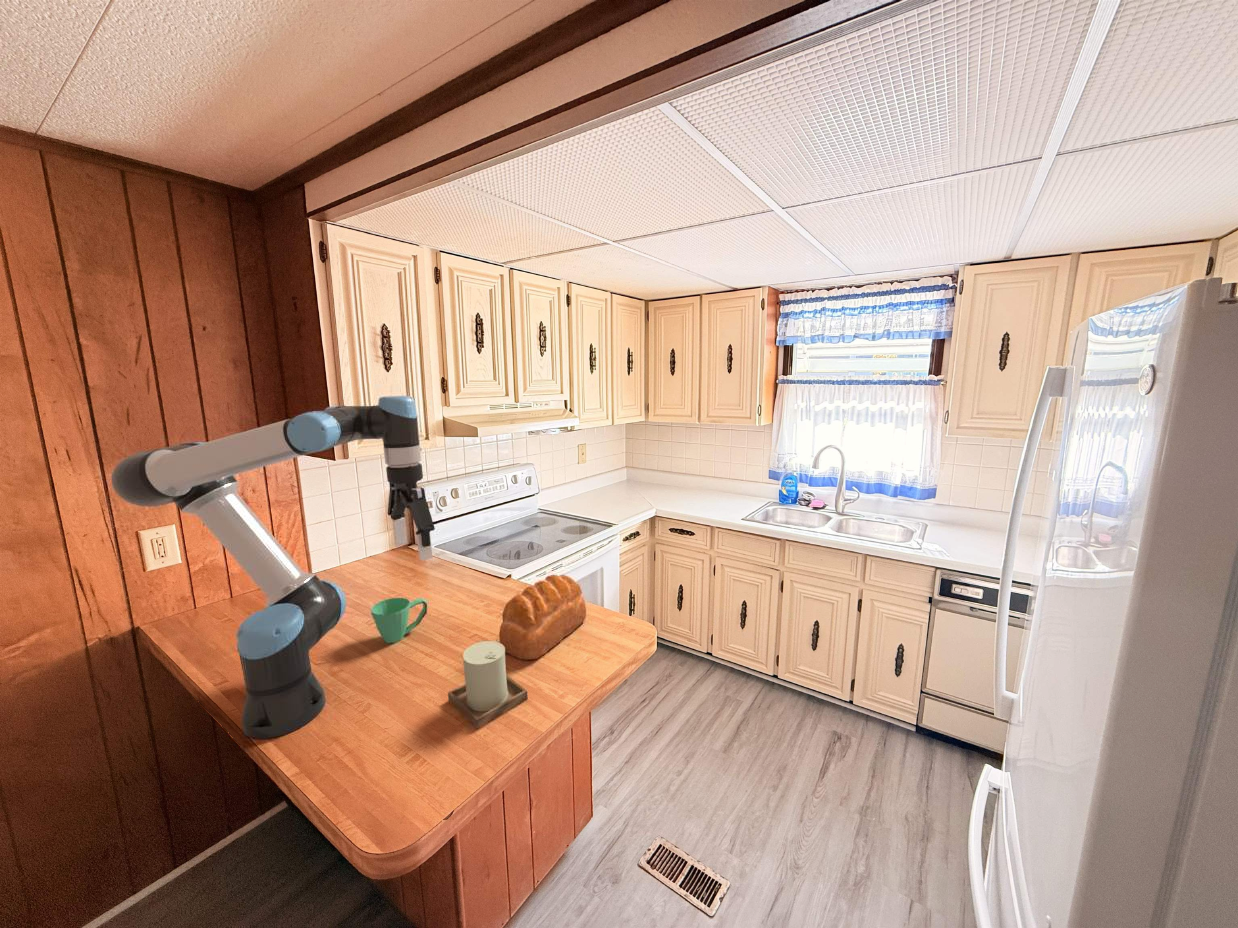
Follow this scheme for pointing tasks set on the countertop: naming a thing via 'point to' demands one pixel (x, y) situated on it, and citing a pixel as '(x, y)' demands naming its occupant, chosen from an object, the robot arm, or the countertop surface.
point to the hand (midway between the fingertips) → (413, 551)
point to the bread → (541, 616)
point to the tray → (481, 718)
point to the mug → (396, 617)
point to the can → (485, 675)
